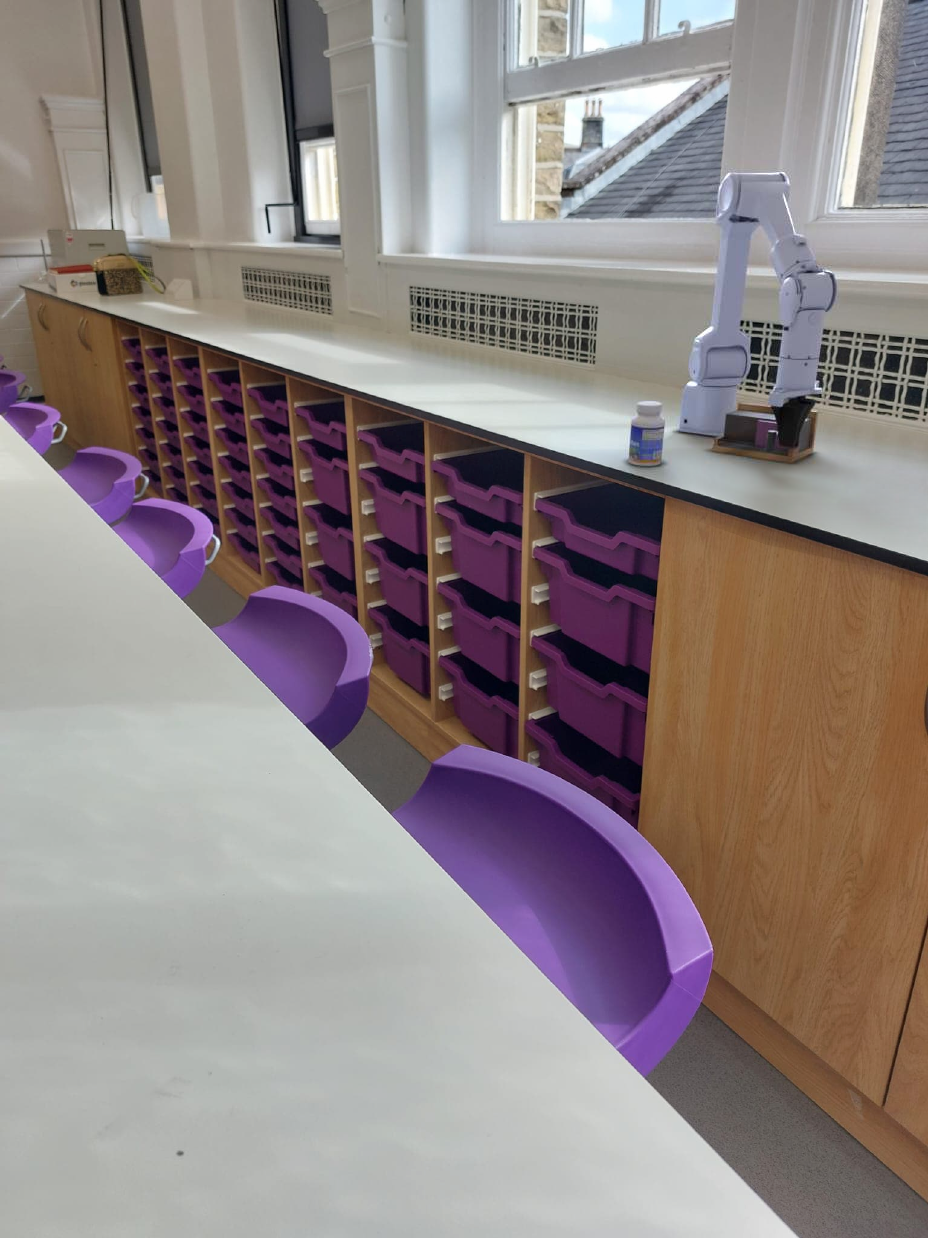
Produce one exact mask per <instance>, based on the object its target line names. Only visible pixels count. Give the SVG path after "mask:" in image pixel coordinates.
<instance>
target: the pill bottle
mask: <svg viewBox="0 0 928 1238" xmlns="http://www.w3.org/2000/svg"><path fill="white" fill-rule="evenodd" d="M662 411H663V404H662V402H659V401H652V400H651V401H650V400H645V401H644V400H643V401H639V402H637V403H636V413H637V414H635V415H634V416H633V417H632V418H631V419H630V420H631V421H630V433H629V434H630V435H629V445H628V446H629V448H628V449H629V450H628V462H629V463H630V464H631V465H634V466H638V467H655V466H658V465H660V464H661V463H662V460H663V459H662V458H663V447H664V436H665V426H666V420H665V418H664V417H663V416H661V413H662Z"/></svg>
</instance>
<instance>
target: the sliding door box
mask: <svg viewBox="0 0 928 1238" xmlns="http://www.w3.org/2000/svg"><path fill="white" fill-rule="evenodd" d="M819 413H820V412H819V411H818V410H813V409H812V410H811V411H810V413H809V414H808V416H807V418H806V420H805V422H804V424H803V427H802V429H801V432H800V435H799V437H798V440H797V442H796V445H795V446H793V447H792V448H790V449H789V451H787V450H780V449H775V450H774V452H767V451H765V449H766V447H759V446H755V440H756V432H757V423H758V421H759V420H763V421H771V422H776V419H775V415H774V413H773V410H772V408H771V406H768V404H767V405H766V404H759V403H750V402H743V401H741V402H738V403H737V408H736V409H735V411H733V412H730V413H727V414H726V418H725V428H724V436H719V437H717V436H715V437H714V438H713V443H712V444H713V445H712V452H715V453H716V452H717V453H723V454H730V455H736V456H743V457H751V458H757V459H762V460H770V461H776V462H783V463H789V464H792V463H795V462H796V461H799V460H801V459H803V458H805V457H807V456H809V455H811V454H813V453H814V446H815V441H816V434H817V427H818V420H819Z"/></svg>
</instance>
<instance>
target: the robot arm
mask: <svg viewBox="0 0 928 1238" xmlns="http://www.w3.org/2000/svg"><path fill="white" fill-rule="evenodd" d="M786 174H787V173H785V172H783V171H778V172H759V173H758V172H754V173H753V172H751V173H749V172H748V173H744V172H743V173H737V172H728V173H727V174H726V176H725V177H724V179H723V180H722V182H721V183H720V185H719V186H718V191H717V198H716V199H717V200H716V208H715V225H716V226H717V227H719V228H720V229H721V232H720V242H719V250H718V259H717V266H716V267H717V269H716V277H715V288H714V294H713V295H714V296H713V303H712V314H711V321H710V322H711V323H710V326H709V327H708V328H707V329H706V330H704V331H703V332H702V333H701V334H699V335H698V336H696V337H695V338H694V340H693V345H692V350H691V352H690V355H689V359H688V372H689V376H690V378H691V379H692V381H689V382H688V383H687V384H686V385H685V387H684V388H683V392H682V395H681V402H680V415H679V427H678V428H677V429H676V431H677V432H681V433H690V434H697V435H704V436H710V437H711V436H712V437H719V436H724V428H725V418H726V414H727V413H730V412H733V411H735V410H736V404H737V397H738V396H737V395H738V387H739V385H742V382H743V380H745V379H746V378H747V376H748V375H749V373H750V370H751V366H752V358H751V357H752V356H751V339H750V338H749V337H748V336H747V335H746V334H745V333H744V332H742V330H740V327H741V318H742V313H743V312H742V311H743V303H744V296H745V287H746V280H747V278H746V277H747V270H748V263H749V255H750V248H751V239H752V235H753V233H754V232H755V231H756V230H757V229H758V228H759V227H760V226H761V228H762V229H763V231H764V233H765V234H766V236H767V238H768V240H769V242H770V244H771V246H772V248H771V250H770V253H769V260H770V262H771V265H772V267H773V269H774V272H775V275H776V277H777V279H778V282H779V284H780V286H781V287H780V291H779V293H778V305H779V309H780V318H779V321H780V325H781V326H782V331H781V340H780V349H779V357H778V365H777V373H776V381H775V385H774V386H773V388H772V391H770V392H769V393H768V401H767V405H768V406H771V408H772V410H773V413H774V415H775V419H776V423H777V429H778V438H779V445H780V446H786V447H793V446H795V445H796V442H797V440H798V437H799V435H800V432H801V429H802V427H803V424H804V422H805V420H806V418H807V416H808V414H809V413H810V411H811V410H812V411H813V408H814V407H815V406H816V399H814V398H806V397H807V396H810V395H820V394H822V393H823V388H822V387H820V386H819V385H820V380H817V376H818V367H819V362H820V354H821V348H822V340H823V333H824V327H825V319H826V313H828V312H829V311H831V309H832V308H833V307H834V305H835V303H836V299H837V295H838V283H837V279H836V275H835V273H834V272H833V271H830V270H827V269H826V268H825V267H821V266H820V265H819V263H818V260H817V258H816V256H815V254H814V252H813V251H814V250H812V249H813V248H812V247H811V245H810V243H809V241H808V239H807V237H806V236H805V235H802V234H798V233H797V232H796V229H795V226H794V223H793V220H792V216H791V214H790V210H789V207H788V203H789V199H790V193H791V185H790V181H789V178H788V176H787V175H786Z"/></svg>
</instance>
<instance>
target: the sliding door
mask: <svg viewBox="0 0 928 1238" xmlns="http://www.w3.org/2000/svg"><path fill="white" fill-rule="evenodd" d="M755 446H759V447H766V449H765V451H767V452H774V450H775V449H780V450H787V451H789V449H790V448H792V447H786V446H780V445H779V438H778V429H777V423H776V422H771V421H763V420H759V421H758V423H757V432H756V440H755Z"/></svg>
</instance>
